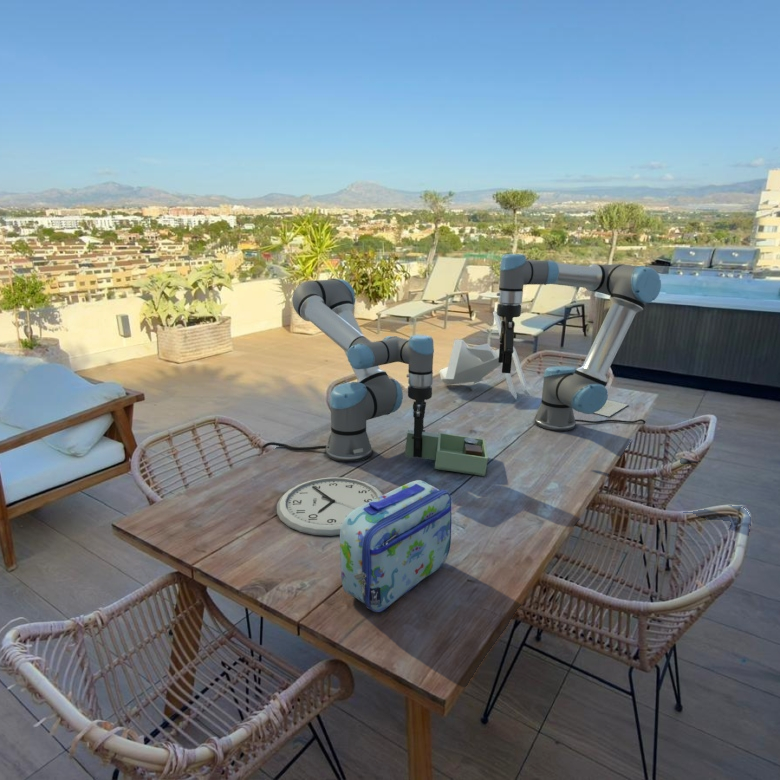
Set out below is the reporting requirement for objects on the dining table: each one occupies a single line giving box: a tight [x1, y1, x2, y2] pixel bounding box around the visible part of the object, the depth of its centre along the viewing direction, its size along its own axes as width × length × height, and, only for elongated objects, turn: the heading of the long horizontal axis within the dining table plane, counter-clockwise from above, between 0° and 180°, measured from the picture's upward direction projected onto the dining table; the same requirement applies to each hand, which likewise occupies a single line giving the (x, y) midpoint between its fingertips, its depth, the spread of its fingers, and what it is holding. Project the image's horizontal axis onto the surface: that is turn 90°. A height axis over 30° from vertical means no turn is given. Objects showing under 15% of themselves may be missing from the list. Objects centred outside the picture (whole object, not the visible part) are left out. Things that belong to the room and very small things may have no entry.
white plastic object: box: [438, 310, 531, 400], centre depth 245 cm, size 37×45×31 cm
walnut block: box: [464, 444, 482, 456], centre depth 165 cm, size 5×5×6 cm
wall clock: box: [276, 476, 385, 537], centre depth 142 cm, size 30×2×30 cm
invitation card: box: [593, 399, 629, 418], centre depth 226 cm, size 21×1×15 cm
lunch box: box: [339, 479, 452, 613], centre depth 109 cm, size 26×11×21 cm, turn 134°
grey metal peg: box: [462, 437, 478, 454], centre depth 170 cm, size 4×4×6 cm
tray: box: [404, 429, 489, 477], centre depth 168 cm, size 26×16×8 cm, turn 83°
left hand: (418, 454), depth 170 cm, fingers closed on tray, 3 cm apart
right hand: (504, 367), depth 175 cm, fingers open, 13 cm apart
